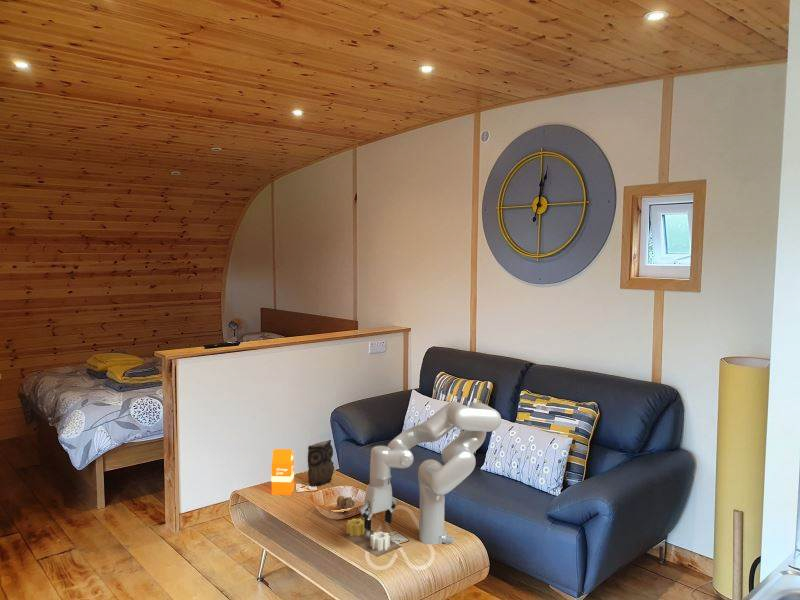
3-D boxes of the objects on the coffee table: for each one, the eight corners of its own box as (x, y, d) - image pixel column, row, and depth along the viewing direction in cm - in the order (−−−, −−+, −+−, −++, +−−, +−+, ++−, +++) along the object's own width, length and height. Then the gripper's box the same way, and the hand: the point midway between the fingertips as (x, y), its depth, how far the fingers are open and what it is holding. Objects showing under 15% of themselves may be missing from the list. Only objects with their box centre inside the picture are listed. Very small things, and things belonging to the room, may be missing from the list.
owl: (334, 478, 300) (334, 438, 298) (329, 488, 287) (329, 446, 286) (309, 477, 301) (309, 437, 299) (303, 487, 288) (302, 445, 287)
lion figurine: (357, 518, 255) (357, 497, 254) (345, 521, 252) (346, 500, 251) (340, 506, 267) (340, 486, 266) (329, 509, 264) (329, 488, 263)
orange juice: (290, 495, 279) (290, 451, 277) (271, 494, 279) (271, 451, 278) (294, 488, 287) (294, 446, 285) (275, 488, 287) (275, 446, 285)
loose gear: (393, 546, 227) (393, 536, 227) (378, 552, 223) (378, 542, 222) (381, 539, 233) (381, 529, 232) (366, 545, 228) (366, 535, 228)
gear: (368, 530, 240) (368, 520, 240) (359, 537, 234) (359, 527, 234) (352, 526, 244) (352, 517, 243) (343, 534, 237) (343, 524, 237)
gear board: (402, 550, 228) (402, 538, 227) (376, 560, 220) (377, 548, 219) (362, 528, 246) (362, 517, 245) (337, 537, 238) (337, 526, 237)
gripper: (391, 472, 234) (389, 516, 235) (354, 482, 223) (353, 528, 224) (404, 478, 229) (402, 523, 230) (367, 488, 217) (365, 535, 218)
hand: (377, 525), depth 227 cm, fingers open, 9 cm apart
